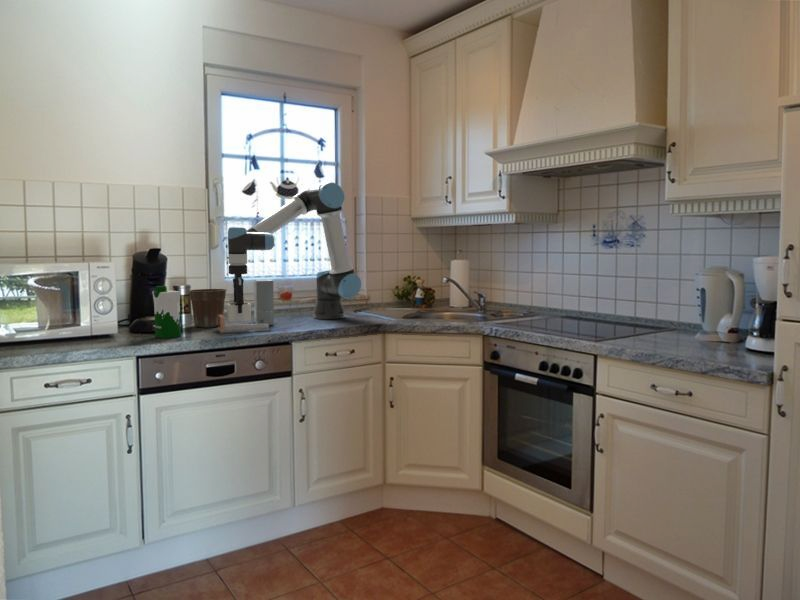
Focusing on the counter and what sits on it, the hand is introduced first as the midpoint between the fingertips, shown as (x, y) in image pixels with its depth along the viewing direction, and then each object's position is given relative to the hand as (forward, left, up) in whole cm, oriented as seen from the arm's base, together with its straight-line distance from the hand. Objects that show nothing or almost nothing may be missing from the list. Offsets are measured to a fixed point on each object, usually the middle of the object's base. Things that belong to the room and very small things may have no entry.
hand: (239, 319), depth 255 cm
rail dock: (-2, 0, -5) cm, 5 cm away
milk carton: (+28, +7, -5) cm, 29 cm away
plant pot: (+11, -20, -5) cm, 23 cm away
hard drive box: (-13, -19, -5) cm, 24 cm away
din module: (0, 0, 0) cm, 0 cm away
